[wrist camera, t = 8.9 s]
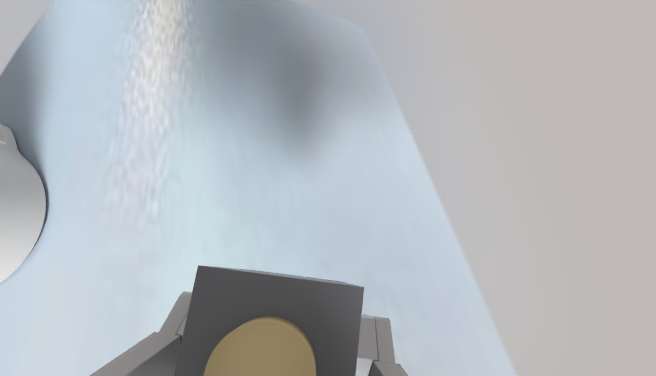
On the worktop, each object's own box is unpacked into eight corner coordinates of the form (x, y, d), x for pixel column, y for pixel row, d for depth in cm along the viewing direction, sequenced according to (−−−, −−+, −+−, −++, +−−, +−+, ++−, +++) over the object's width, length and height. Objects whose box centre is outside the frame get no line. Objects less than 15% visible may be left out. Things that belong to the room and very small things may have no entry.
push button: (243, 358, 16) (129, 490, 6) (258, 270, 17) (181, 264, 7) (327, 369, 16) (350, 517, 6) (338, 281, 17) (370, 288, 7)
